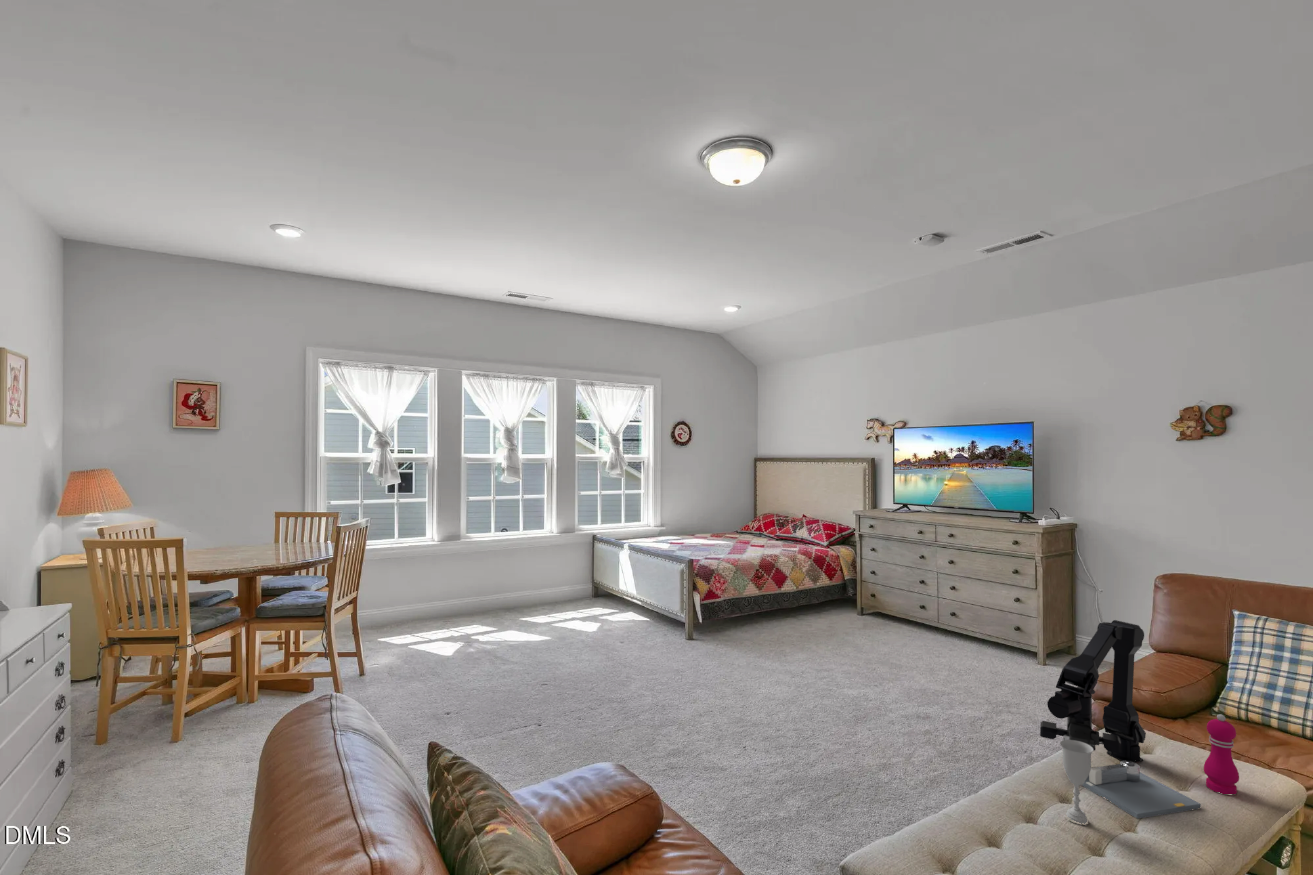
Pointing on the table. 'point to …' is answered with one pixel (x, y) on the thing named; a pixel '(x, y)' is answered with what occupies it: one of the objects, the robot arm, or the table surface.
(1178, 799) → the mount board
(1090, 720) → the robot arm
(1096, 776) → the lock lever
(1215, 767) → the pepper mill
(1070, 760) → the chalice
